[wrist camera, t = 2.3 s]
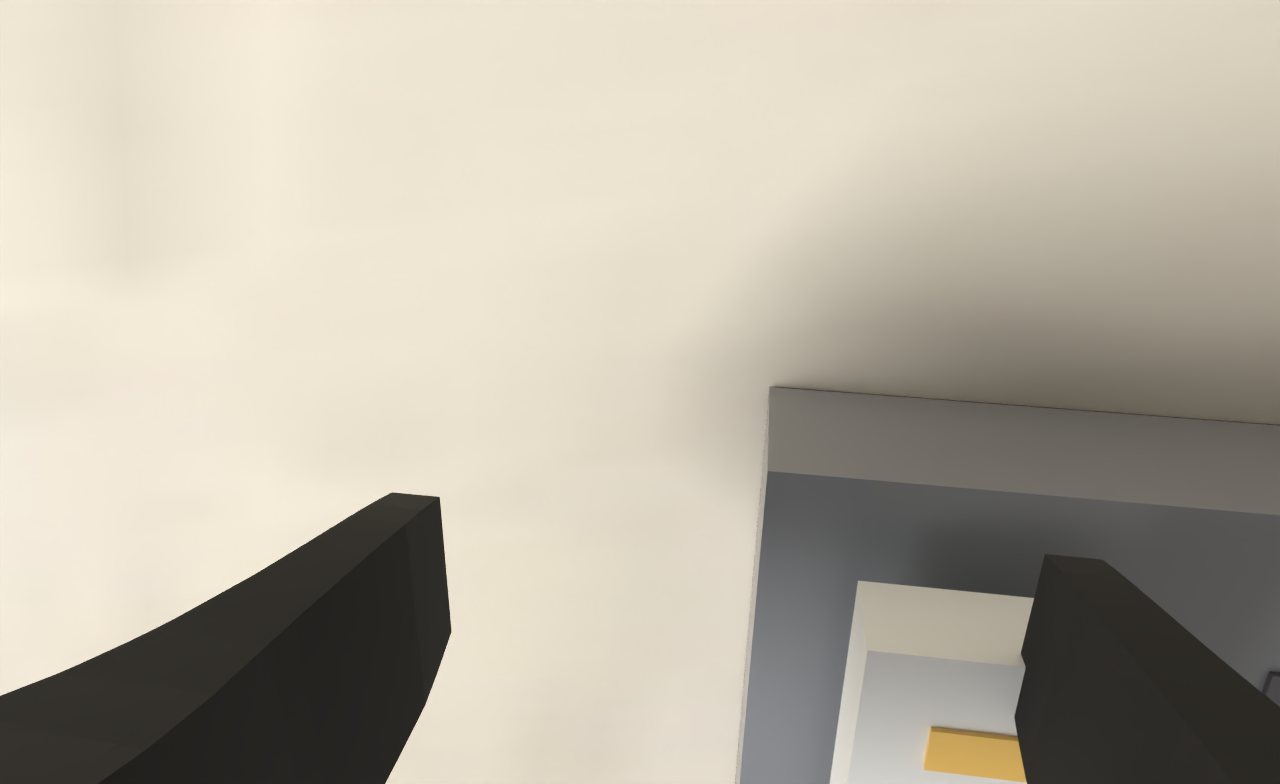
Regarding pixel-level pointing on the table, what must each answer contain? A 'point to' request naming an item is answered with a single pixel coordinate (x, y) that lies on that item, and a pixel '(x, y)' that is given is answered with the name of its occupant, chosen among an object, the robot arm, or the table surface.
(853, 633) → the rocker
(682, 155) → the table surface
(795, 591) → the grey flat tray
